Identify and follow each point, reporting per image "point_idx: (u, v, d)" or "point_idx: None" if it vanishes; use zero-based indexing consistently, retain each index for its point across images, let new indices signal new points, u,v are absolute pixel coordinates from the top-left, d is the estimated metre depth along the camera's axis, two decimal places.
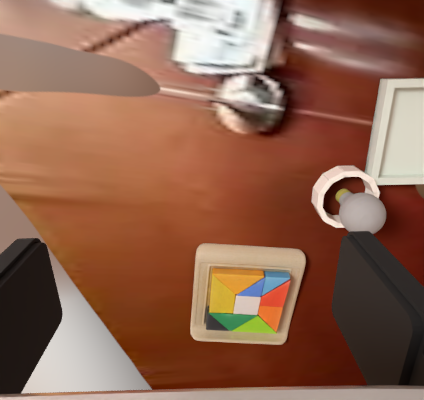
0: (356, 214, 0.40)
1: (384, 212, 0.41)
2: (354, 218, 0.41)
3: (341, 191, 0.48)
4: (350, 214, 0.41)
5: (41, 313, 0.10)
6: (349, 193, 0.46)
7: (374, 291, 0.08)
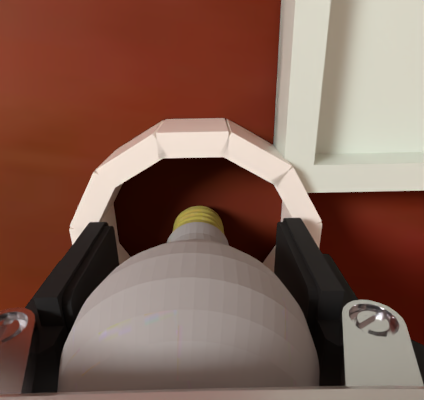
0: None
1: None
2: None
3: (184, 216, 0.13)
4: None
5: None
6: (195, 228, 0.11)
7: (292, 269, 0.09)
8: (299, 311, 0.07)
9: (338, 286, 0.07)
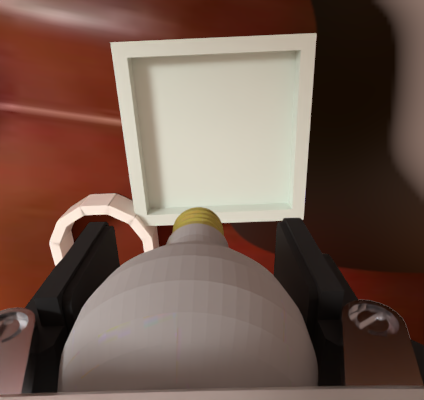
0: None
1: None
2: None
3: (184, 217, 0.13)
4: None
5: None
6: (194, 230, 0.11)
7: (292, 269, 0.09)
8: (298, 313, 0.07)
9: (337, 286, 0.07)
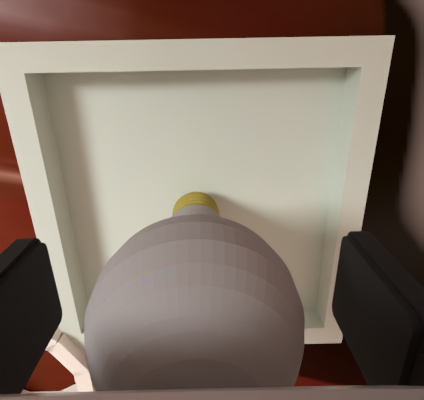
0: (107, 360, 0.06)
1: (284, 340, 0.07)
2: (102, 380, 0.07)
3: (183, 201, 0.14)
4: (91, 349, 0.07)
5: (41, 313, 0.10)
6: (194, 210, 0.12)
7: (374, 291, 0.08)
8: (287, 270, 0.08)
9: None
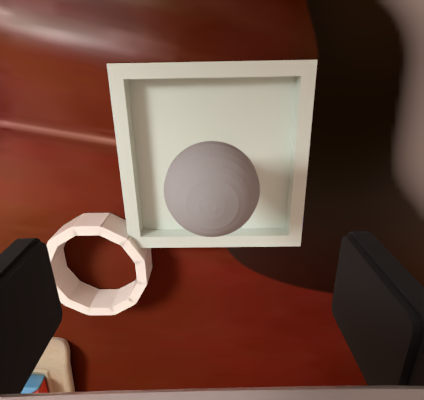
0: (178, 185, 0.17)
1: (246, 181, 0.17)
2: (175, 195, 0.17)
3: None
4: (170, 186, 0.17)
5: (41, 313, 0.10)
6: None
7: (374, 291, 0.08)
8: (252, 164, 0.19)
9: None
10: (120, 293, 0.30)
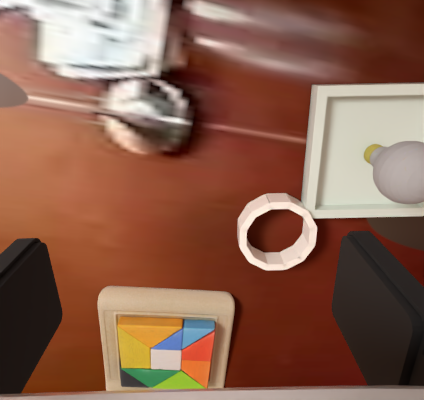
0: (402, 169, 0.27)
1: None
2: (399, 176, 0.27)
3: (372, 147, 0.34)
4: (392, 170, 0.27)
5: (41, 313, 0.10)
6: (385, 147, 0.33)
7: (374, 291, 0.08)
8: None
9: None
10: (285, 254, 0.40)
